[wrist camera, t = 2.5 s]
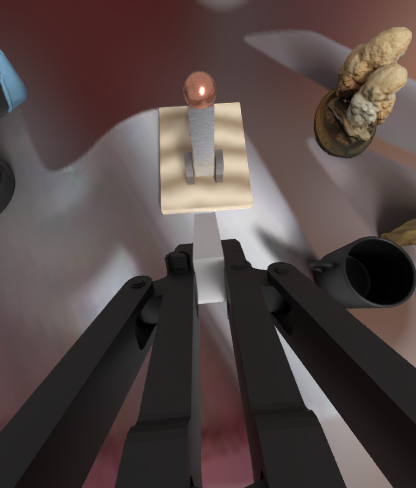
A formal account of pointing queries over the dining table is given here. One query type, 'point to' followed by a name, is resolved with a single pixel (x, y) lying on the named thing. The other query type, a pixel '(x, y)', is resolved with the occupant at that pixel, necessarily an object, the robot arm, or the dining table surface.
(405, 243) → the rock
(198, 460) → the robot arm
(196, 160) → the lever
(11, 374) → the dining table surface
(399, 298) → the mug
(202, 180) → the tan bracket base plate
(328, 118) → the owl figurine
